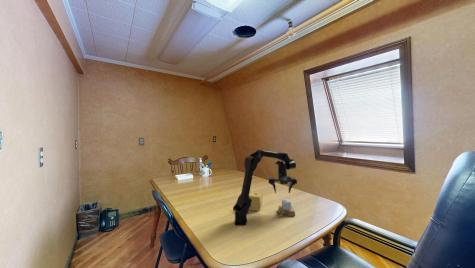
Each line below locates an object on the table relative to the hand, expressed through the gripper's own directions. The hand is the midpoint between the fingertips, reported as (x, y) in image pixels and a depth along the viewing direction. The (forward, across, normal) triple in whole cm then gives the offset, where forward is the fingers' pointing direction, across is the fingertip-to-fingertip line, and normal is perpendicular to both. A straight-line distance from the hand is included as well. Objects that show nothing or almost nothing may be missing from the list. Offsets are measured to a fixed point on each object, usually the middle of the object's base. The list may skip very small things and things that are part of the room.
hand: (282, 193), depth 131 cm
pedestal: (+12, +2, -4) cm, 13 cm away
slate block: (+9, +2, -4) cm, 10 cm away
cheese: (+12, -19, +4) cm, 23 cm away
